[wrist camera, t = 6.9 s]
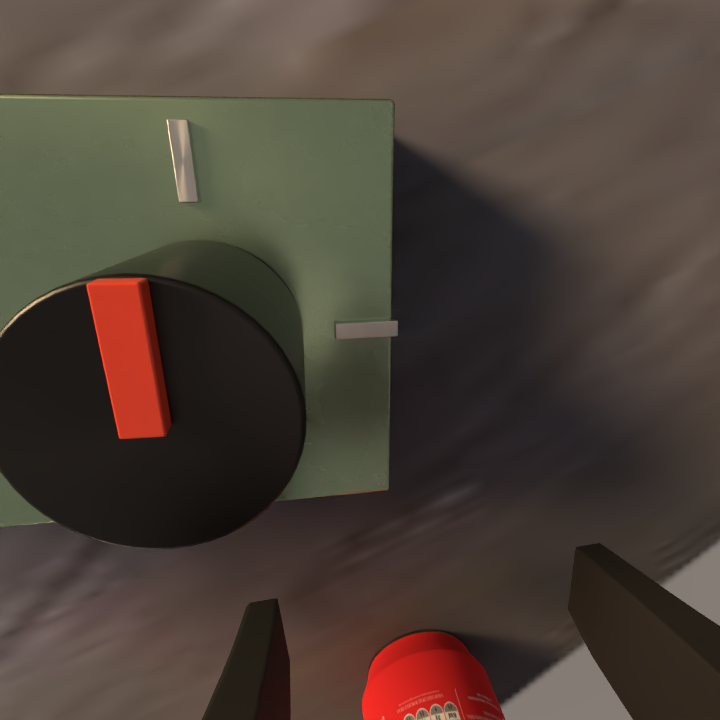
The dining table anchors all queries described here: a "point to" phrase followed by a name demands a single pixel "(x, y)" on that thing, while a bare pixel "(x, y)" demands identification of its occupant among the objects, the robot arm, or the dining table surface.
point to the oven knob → (155, 397)
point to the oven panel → (223, 234)
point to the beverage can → (428, 681)
